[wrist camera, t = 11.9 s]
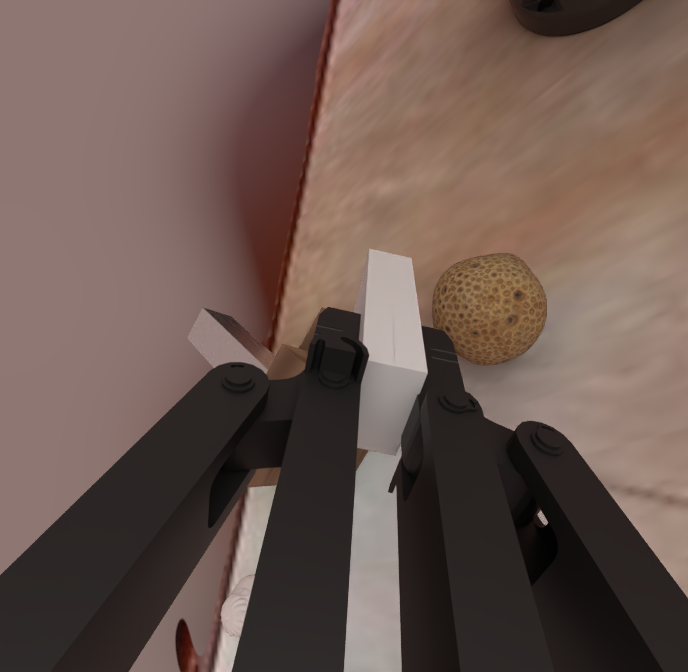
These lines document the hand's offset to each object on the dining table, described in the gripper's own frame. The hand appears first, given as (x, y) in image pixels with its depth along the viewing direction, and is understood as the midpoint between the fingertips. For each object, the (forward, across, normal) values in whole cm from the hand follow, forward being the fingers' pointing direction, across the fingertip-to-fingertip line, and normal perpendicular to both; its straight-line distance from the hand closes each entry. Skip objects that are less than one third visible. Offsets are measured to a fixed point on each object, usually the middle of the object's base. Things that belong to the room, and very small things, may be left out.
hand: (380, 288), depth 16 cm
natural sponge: (+20, +14, -11) cm, 27 cm away
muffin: (+10, 0, -44) cm, 45 cm away
